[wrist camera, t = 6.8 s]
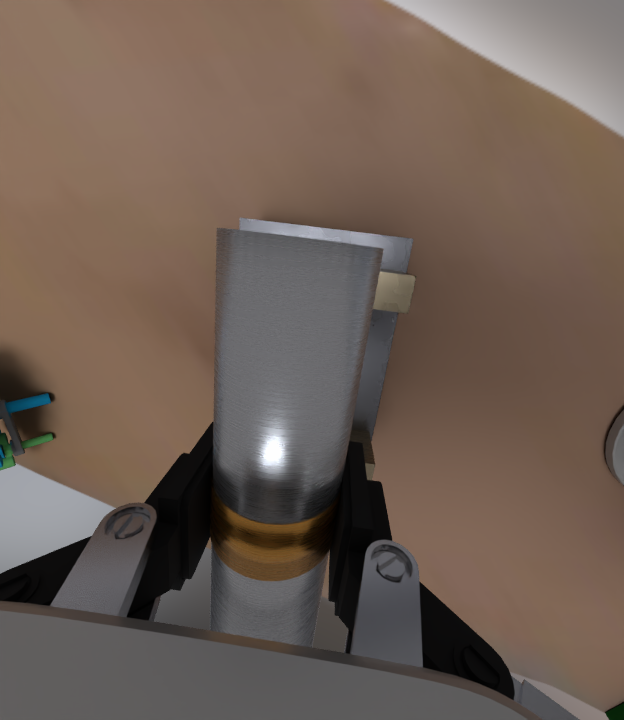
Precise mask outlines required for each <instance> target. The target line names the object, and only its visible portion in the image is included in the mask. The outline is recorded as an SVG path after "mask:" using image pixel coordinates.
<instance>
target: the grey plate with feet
mask: <svg viewBox="0 0 624 720" xmlns="http://www.w3.org/2000/svg"><path fill="white" fill-rule="evenodd" d="M239 230H245V231H254V232H262V233H271V234H279V235H287V236H296V237H304V238H311V239H319V240H327V241H335V242H342V243H350V244H357V245H364V246H371V247H377V248H383V249H384V251H383V256H382V262H381V267H380V273H379V278H378V284H377V289H376V295H375V301H374V306H373V312H372V317H371V323H370V328H369V334H368V339H367V345H366V350H365V356H364V361H363V367H362V373H361V378H360V384H359V389H358V395H357V400H356V406H355V411H354V417H353V422H352V428H351V433H350V439H349V441H353V442H360V443H362V444H363V451H364V459H365V467H366V474H367V480H372V477H373V472H374V467H375V461H374V455H373V450H372V444H371V441H372V436H373V431H374V426H375V421H376V417H377V412H378V407H379V402H380V397H381V392H382V388H383V383H384V378H385V373H386V368H387V364H388V359H389V354H390V349H391V344H392V339H393V335H394V330H395V325H396V320H397V315H398V312H400V313H408V312H409V307H410V303H411V298H412V293H413V289H414V284H415V280H416V276H414V275H411V274H408V273H406V272H407V267H408V262H409V258H410V253H411V248H412V243H413V239H410V238H402V237H394V236H385V235H377V234H369V233H361V232H353V231H344V230H336V229H328V228H320V227H312V226H303V225H295V224H287V223H279V222H271V221H262V220H254V219H246V218H240V229H239Z"/></svg>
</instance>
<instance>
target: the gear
mask: <svg viewBox="0 0 624 720" xmlns="http://www.w3.org/2000/svg"><path fill="white" fill-rule="evenodd" d="M49 403H51V401H50V397H49V394H48V393H46V394H42V395H37V396H33V397H29V398H24V399H20V400H16V401H11V402H7V403H6V401H5V400H1V401H0V419H4V422H5V424H6V426H7V429H8V431H9V434H10V436H11V438H12V440H10V444H9V443H8V439H7V435H6V433H1V430H0V470H3V469H6V468H9V467H12V466H15V465H16V464H15V460H14V457H13V455H12V454H14V456H18V455H21V454H24V453H25V450H24V449H25V448H28V447H31V446H35V445H38V444H41V443H45V442H48V441H51V440H53V436H52V433H50V434H46V435H43V436H39V437H36V438H33V439H29V440H26V441H22V440H21V438H20V435H19V433H18V430H17V428H16V425H15V423H14V420H13V418H12V415H11V413H13V412H17V411H21V410H25V409H29V408H33V407H37V406H41V405H45V404H49ZM5 455H6V457H5Z"/></svg>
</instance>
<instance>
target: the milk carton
mask: <svg viewBox="0 0 624 720" xmlns="http://www.w3.org/2000/svg"><path fill="white" fill-rule="evenodd" d="M605 713H606V715H607V717H608V718H609V720H624V703H622V704H621V705H619V706H617V707H615V708H613V709H611V710H609V711H608V712H605Z"/></svg>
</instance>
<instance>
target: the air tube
mask: <svg viewBox="0 0 624 720" xmlns="http://www.w3.org/2000/svg"><path fill="white" fill-rule="evenodd" d="M383 251H384V249H383V248H377V247H371V246H364V245H357V244H350V243H342V242H335V241H327V240H319V239H311V238H304V237H296V236H287V235H279V234H271V233H262V232H254V231H245V230H236V229H226V228H217V240H216V301H215V361H214V422H213V472H212V474H211V502H210V537H211V542H212V543H211V604H210V631H215V632H221V633H227V634H233V635H239V636H246V637H252V638H258V639H264V640H270V641H276V642H282V643H288V644H294V645H300V646H305V647H311V648H312V644H313V638H314V633H315V627H316V622H317V616H318V610H319V605H320V600H321V594H322V589H323V583H324V578H325V572H326V566H327V561H328V555H329V550H330V547H331V544H332V539H333V534H334V528H335V523H336V517H337V512H338V506H339V501H340V495H341V483H342V477H343V472H344V467H345V461H346V456H347V450H348V445H349V439H350V433H351V428H352V422H353V417H354V411H355V406H356V400H357V395H358V389H359V384H360V378H361V373H362V367H363V361H364V356H365V350H366V345H367V339H368V334H369V328H370V323H371V317H372V312H373V306H374V301H375V295H376V289H377V284H378V278H379V273H380V267H381V262H382V256H383Z"/></svg>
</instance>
